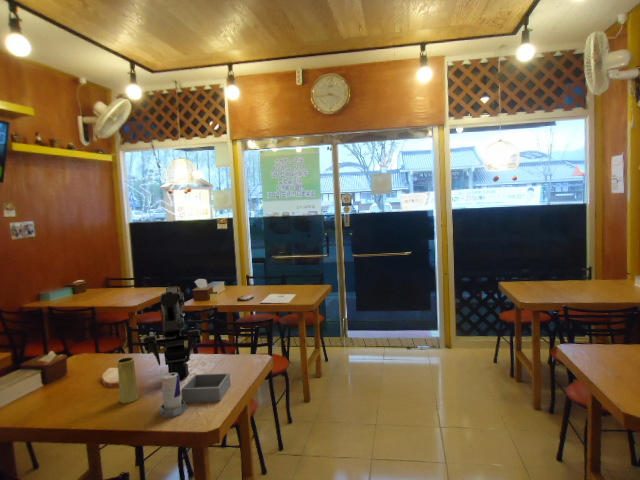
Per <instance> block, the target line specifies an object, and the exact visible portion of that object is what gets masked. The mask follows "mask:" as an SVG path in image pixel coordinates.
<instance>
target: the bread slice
mask: <svg viewBox="0 0 640 480" xmlns="http://www.w3.org/2000/svg"><path fill="white" fill-rule="evenodd" d="M102 383H103V384H104V385H105V387H106V386H108V387H107V388H110V387H118V388H119V375H118V367H108V368H107V369H106V370H105V371H104V372H103V373H102V375H101V384H102ZM103 384H102V385H103ZM104 385H103V386H104Z"/></svg>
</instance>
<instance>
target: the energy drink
mask: <svg viewBox="0 0 640 480" xmlns="http://www.w3.org/2000/svg"><path fill="white" fill-rule="evenodd" d="M180 383H181V380H179V375H178V373H175V372H172V373H169V372H168V373H164V374H163V375H162V376H161V386H162V387H161V389H162V397H163V398H162V399H163V403H164V410H169V409H175V408H178V407H181V406H182V405H181V399H182V392H181V384H180Z"/></svg>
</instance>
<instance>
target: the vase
mask: <svg viewBox="0 0 640 480" xmlns="http://www.w3.org/2000/svg"><path fill="white" fill-rule="evenodd" d="M116 363H117V368H118V375H119V387H118V390H119V402H120V403H121V404H128V403H129V404H130V403H133V402H135V401H137V400H138V399H139V398H140V397H139V393H138V385H137V384H138V383H137V377H136V376H137V375H136V369H135V368H136V367H135V366H136V365H135V359H134V357H130V356H128V357H121V358H119V359H118V360H117V361H116Z"/></svg>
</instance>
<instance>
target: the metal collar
mask: <svg viewBox="0 0 640 480" xmlns="http://www.w3.org/2000/svg"><path fill="white" fill-rule="evenodd" d="M181 405H182V406H181V407H178V408H175V409H169V410H164V402H163V403H162V404H161V405H160V406H159V407H158V410H159V415H160V416H161V417H163V418H174V417H177V416H180V415H182V414H184V413H185V412H186V410H187V407H188V406H187V402H185V401H184V400H182V398H181Z"/></svg>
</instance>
